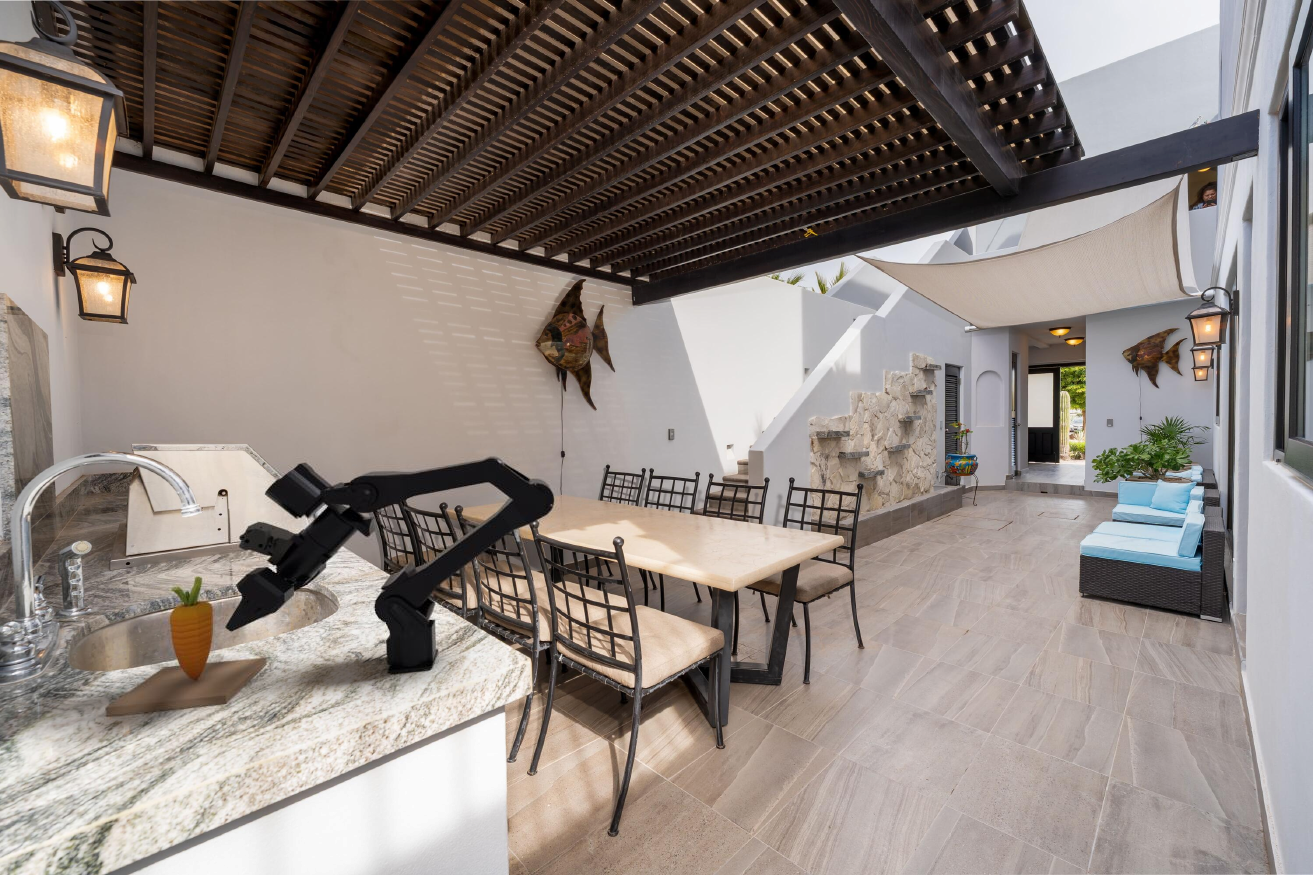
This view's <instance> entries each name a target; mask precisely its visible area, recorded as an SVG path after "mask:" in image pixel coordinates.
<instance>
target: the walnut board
mask: <svg viewBox="0 0 1313 875" xmlns="http://www.w3.org/2000/svg"><path fill="white" fill-rule="evenodd" d="M267 661H268V660H267V657H258V658H248V659H236V660H226V661H216V662H215V661H214V662H213V661H212V662H206V665H205V667H204V669H203V671H202V673H201V675H200V677H199V678H198V679H197V680H193V679H191V678H189V676H188V675H187V674H186V673H185V672H184V671H183V669H182V668H181V666H180V665H174V666H173V665H172V666H164V667H162V668H160V669H159V670H158V671H156V672H155V673H153V674H152V675H151V676H149V677H148V678H146V679H145V680H143V681H141V682H140V684H138V685H136V686H135V687H134V688H132V689H131V690H130V691H128V692H126V693H125V694H124V695H122V696H121V697H119V698H118V699H117V700H115V701H113V702H112V703H110V704H109V705H108V706H107V707H105V715H106V716H105V717H116V716H123V715H124V716H125V715H130V714H131V715H132V714H135V715H136V714H141V713H152V712H160V711H161V712H163V711H168V710H169V711H170V710H179V709H181V710H182V709H187V708H188V709H189V708H196V707H198V708H199V707H207V706H216V705H223V704H224V705H225V704H228V703H229V702H230V701H231V700H232V699H233V697H235V696H237V695H238V693H239V692H240V691H241V690H242V689H243V688H244V687H246V685H247V684H249V682H251V680H253V679H254V678H255V677H256V676H257V675H258V674H259V673H260V672H261V671H262V670H263V669H264V668H265V667H266V666H268V665H267V664H268V663H267Z"/></svg>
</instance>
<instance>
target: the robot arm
mask: <svg viewBox="0 0 1313 875" xmlns="http://www.w3.org/2000/svg"><path fill="white" fill-rule="evenodd" d="M487 483H488V484H490V485H492V486H493V487H495V488H496V489H497V490H499V491H500V492H501V493H503V494H504V495H506V496H507V497H508V499H507V500H506V501H505V502H504V504H502V505H501V507H500V508H499V509H498V510H497V511H496V512H494V513H493V514H491V516H489V517H488V518H487V519H485V520H484V521H482V522H481V523H480V524H478V525H477V526H476V527H474V528H473V529H472V530H470V531H469V532H467V533H466V534H465V535H463V536H462V537H460V538H459V539H458V540H457V541H455V542H453V544H451V545H449V547H447V548H446V549H444V550H443V551H441V552H440V553H438V555H436V556H435V557H434V558H432V559H431V560H429V561H428V562H427V563H424V564H421V565H419V566H417V567H415V566H414V564H413V561H409V562H408V563H407V564H406V565H405V566H403V568H402V569H401V570H400V571H398V572H396V573H392V574H390V575H389V577H388V578H387V579H386V581H384V584H383V585H382V586H381V588H380V589H381V592H380V593H378V595H377V597H376V599H375V601H374V605H373V606H374V608H373V609H374V613H375V615H376V617H377V618H378V620H380V621H381V622H383V623H385V625H386V628H387V629H388V632H389V635H388V636H387V638H386V640H385V645H386V646H385V649H386V650H385V651H386V664H387V666H389V667H388V668H387V674H396V673H397V674H398V673H406V672H407V673H408V672H416V671H425V670H427V671H428V670H431V669H433V668H434V665H435V662H436V659H437V657H438V654H439V649H437V640H436V639H437V636H436V635H437V634H436V619H430V618H431V616H432V614H433V612H434V609H435V606H436V601H434V600H433V599H432V598H430V597H431V595H432V594H433V593H434V591H435V590H436V589H437V588H438V587H439V586H440V585H441V584H443V583H444V582H446V581H447V580H448V579H450V577H452V576H453V575H455V574H456V573H457V572H459V571H460V570H461V569H463V568H465V566H467V565H468V564H470V563H471V562H473V560H475V559H476V558H478V557H479V556H480V555H482V554H483V553H484V552H485V551H487V550H488V549H490V548H491V547H492V546H494V545H495V544H496V543H497V542H499V541H500V540H502V539H503V538H504V537H505V536H507V535H508V534H509V533H511V532H513V531H515V530H518V529H521V528H523V527H526V526H528V525H531V524H533V523H534V522H537V521H538V520H541V519H542V518H544V517H546V516H547V515H549V514H550V512H552V510H553V508H554V505H555V495H554V493H553V491H552V489H551V487H550V485H549V484H548V483H547V482H546V481H545V480H543V479H540V478H529V477H528V476H526V475H525V474H524V473H522V472H520V471H519V470H517V469H515V468H514V467H512V466H510V465H508V464H507V463H506V462H504V461H503V460H502V459H501V458H500V457H498V456H488V457H486V458H483V459H478V460H472V461H468V462H467V461H466V462H461V463H455V464H449V465H443V466H438V467H433V468H428V469H420V470H416V471H400V470H399V471H394V470H391V471H389V470H388V471H387V470H386V471H385V470H384V471H369V472H367V473H364V474H361V475H358V476H357V477H354V478H353V479H351V480H350V481H347V482H342V481H340V482H338V483H336V484H334V485H333V484H331V483H329V481H327V480H325V479H324V478H323V477H322V476H321V475H319V473H317V472H316V471H315V470H314V469H313V467H312V466H311V465H309V464H308V462H301V463H298V464H297V465H296V466H295V467H294V468H293V469H291V470H290V471H288V472H287V473H285V474H284V475H283V476H282V477H280V478H277V479H276V480H275V481H274V482H272V484H271V485H270V486H268V488H267V489H266V491H265V492H264V495H265V496H266V497H267V498H269V499H270V500H271V501H273V502H274V503H275V504H277V505H278V506H279V507H280V508H282V509H283V510H285V512H287V513H288V514H289V515H290V516H291V517H293V518H294V519H296V520H298V519H302V518H303V517H304V516H305V518H307V519H311V518H312V517H313V516H314V515H315V514H317V513H318V512H319V511H320V510H321V509H322V508H323V507H324V506H326V507H325V509H323V510H322V511H321V512H320V514H318V515H317V517H315V518H314V519H313V520H312V521H311V522H310V523H309V524H308V525H307V526H306V527H305V528H304V529H301V530H300V531H299V532H298V533H295V532H292V531H290V530H288V529H285V528H281V527H279V526H277V525H273V524H270V523H268V522H264V521H257V522H255V523H252V524H250V525H248V526H247V528H246V529H245V532H244V533H242V534H240V536H239V538H238V539H239V540H240V543H239V544H238V548H240V549H241V550H244V551H252V552H255V553H258V554H261V555H264V556H269V558H268V559H267V560H266V562H267V563H269V564H270V565H272V566H274V567H275V570H272V569H271V568H270V567H269V566H263V567H262V566H261V567H256V568H254V569H253V570H251V571H250V572H248V573H247V574H245V575H244V576H243V577H242V578H241V579H240V580H239V581H238V582H237V583H236V584H235V585H236V588H237V591H238V592H239V593H240V594H241V599H240V601H239V603H238V605H237V607H236V608H235V610H234V612H233V613H232V615H231V616H230V619H229V620H227V621H228V622H227V623H226V625H225V629H226V630H227V631H229V632H235V631H236V630H238V629H241V628H242V627H244V626H247V625H249V624H251V623H254V622H255V621H258V620H261V619H262V618H264V617H267V616H269V615H273V614H276V613H277V612H278V610H280V609H281V608H282V607H284V606H285V605H286V604H287V603H288V602H289V601H290V599H292V598H293V596H295V592H296V591H298V590H301V589H302V588H304V587H305V586H308V585H309V584H310V583H311V582H312V581H314V580H315V579H316V578H317V577H319V576H320V575H321V574H322V572H324V570H326V569H327V563H328V561H330V560H331V559H332V558H333V557H334V556H336V554H338V552H339V551H340V550H341V549H342V548H343V547H344V546H345V545H346V543H347V542H348V541H350V539H352V538H353V536H354V535H355V534H356V533H357V532H359V533H360V534H362V535H363V536H364V537H366V538H368V537H370V536H371V535H372V534H374V533H375V531H376V528H375V519H376V518H375V516H365V515H363V514H370V513H373V512H376V511H379V510H381V509H385V508H388V507H391V506H393V505H395V504H398V503H400V502H402V501H405V500H407V499H411V498H413V497H416V496H423V495H429V494H433V493H437V492H438V493H439V492H444V491H449V490H454V489H460V488H465V487H469V486H476V485H480V484H487ZM346 506H348V507H346ZM275 571H276V572H275Z"/></svg>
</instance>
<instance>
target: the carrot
mask: <svg viewBox="0 0 1313 875" xmlns="http://www.w3.org/2000/svg"><path fill="white" fill-rule="evenodd" d="M202 582H203V578H202V577H200V576H195V577H194V582H193V587H192V588H191V591H189V590H186V591H184V590H183V589H182V588H181V587H180V586H173V587H172V588H171V591H172V592H174V593H175V594H176V595H177V596H178V598H179V599H180V600H181V601H182V604H179V605H177V606H175V608H174V609H172V611H171V613H170V615H169V624H170V634H171V642H172V646H173V650H174V654H175V656H176V659H177V663H178V665H179V666H181V668H182V669H183V671H184V672H185V673H186V674H187V675H188V676H189V678H191V679H193V680H197V679H198V678H199V677H200V675H201V673H202V671H203V669H204V667H205V665H206V663H208V659H209V656H210V653H211V649H212V648H211V647H212V641H213V636H214V613H213V612H214V608H213V605H212V603H211V602H208V601H202V600H198V598H199V596H200V591H201V587H202V584H203V583H202Z"/></svg>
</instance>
